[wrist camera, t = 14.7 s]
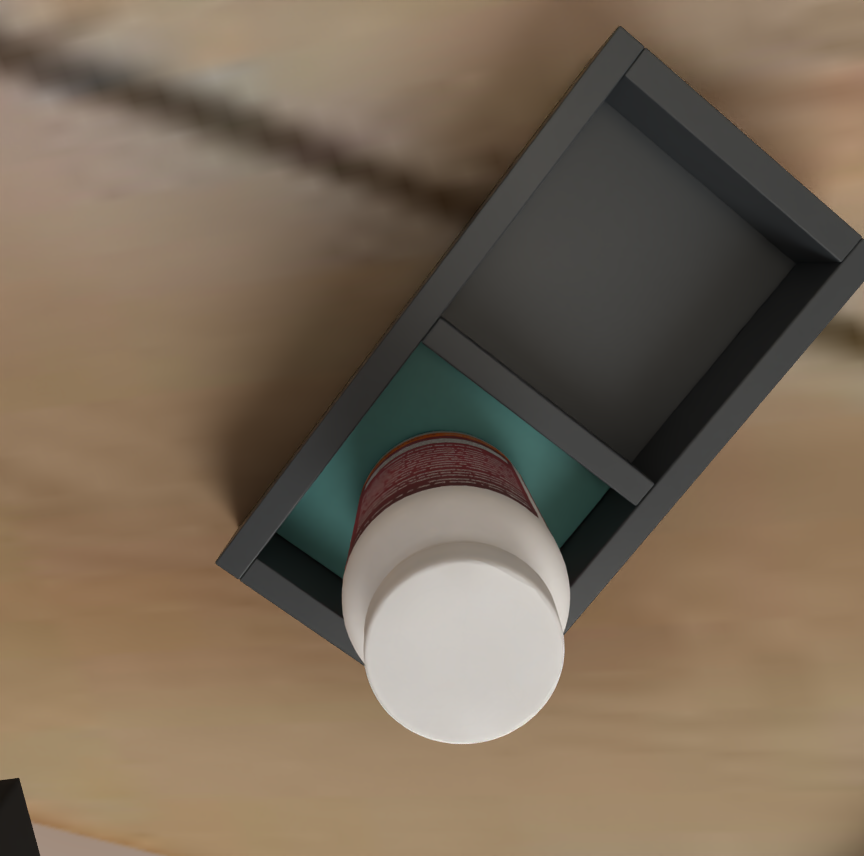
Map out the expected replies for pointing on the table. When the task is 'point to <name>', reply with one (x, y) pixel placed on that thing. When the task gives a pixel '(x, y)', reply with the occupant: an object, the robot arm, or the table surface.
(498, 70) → the table surface
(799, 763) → the table surface
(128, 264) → the table surface
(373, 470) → the pill bottle
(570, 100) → the box
